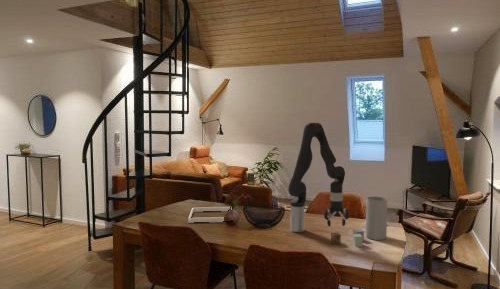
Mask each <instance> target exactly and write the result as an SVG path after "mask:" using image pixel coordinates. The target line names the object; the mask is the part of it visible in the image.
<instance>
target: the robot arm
mask: <svg viewBox="0 0 500 289" xmlns="http://www.w3.org/2000/svg"><path fill="white" fill-rule="evenodd" d="M313 138H316V139H317V141H318V142H319V152H320V153H319V154H320V156H321V158H322V160H323V162H324V164H325V169H326V174H327V176H328V177H329V178H331V179H334V181H333V182H331V183H330V188H329V192H330V193H329V209H327V208H325V209H324V213H323V214H324V215H323V216H324V220H326V221H327V226H328V227H331V226H332V225H331V224H332V222H331V219H332V218H333V217H341V218H342V219H341V225H342V227H345V226H346V220H348V219H349V209H348V208H344V207H343V206H344V197H343V196H344V195H343V185H344V180H345V176H346V171H345V169H344V167H343V166H341V165H340V166H339V165H338V166H335V164H336V162H337V158H336V157H335V155H334V153H333V151H332V149H331V146H330V144H329V141H328V138H327V135H326V133H325V129H324V128H323V125H322V124H321V123H320V122H307V123H306V124H305V126H304V128H303V134H302V138H301V145H300V148H299V152H298V156H297V160H296V164H295V167H294V171H293V175H291V176H292V177H291V178H290V182H289V185H288V193H289V196H292V197H293V199H291V200H290V215H289V230H290V231H291V232H292V233H303V232H305V203H306V201H307V186H306V184H305V182H304V181H302V179H303V178H304V176H305V175H306V173H307V172H308V171H309V169H310V168H311V164H312V162H313V152H312V148H311V146H312V140H313ZM343 213H344V214H343ZM344 215H345V216H344Z"/></svg>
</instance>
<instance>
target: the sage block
mask: <svg viewBox="0 0 500 289" xmlns="http://www.w3.org/2000/svg"><path fill="white" fill-rule="evenodd" d="M363 242H364V241H363V236H362V235H360V234H352V243H351V244H352V245H353V246H354V247H355V248H356V247H357V248H358V247H364V246H363Z"/></svg>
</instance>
